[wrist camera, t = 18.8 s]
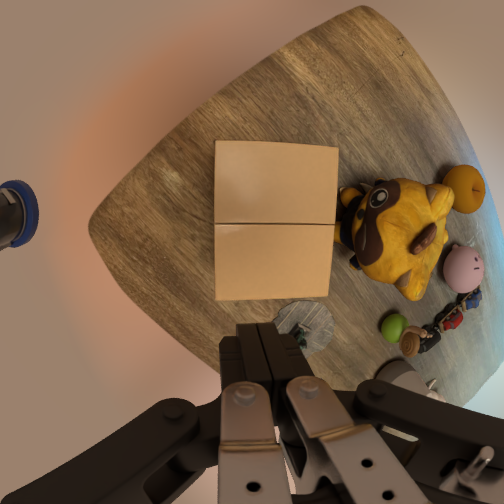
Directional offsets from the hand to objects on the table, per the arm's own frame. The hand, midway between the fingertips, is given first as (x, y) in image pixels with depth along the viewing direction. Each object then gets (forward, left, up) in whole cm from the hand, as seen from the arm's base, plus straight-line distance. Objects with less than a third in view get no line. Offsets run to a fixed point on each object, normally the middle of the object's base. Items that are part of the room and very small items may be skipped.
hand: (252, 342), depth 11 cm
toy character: (+13, -19, -30) cm, 38 cm away
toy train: (+12, -49, -30) cm, 59 cm away
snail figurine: (+3, -35, -30) cm, 46 cm away
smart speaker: (-6, -47, -30) cm, 56 cm away
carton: (+4, -3, -30) cm, 31 cm away
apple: (+30, -28, -30) cm, 51 cm away
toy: (+20, -40, -30) cm, 54 cm away
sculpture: (-8, -21, -30) cm, 38 cm away
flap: (+1, -6, -19) cm, 20 cm away
